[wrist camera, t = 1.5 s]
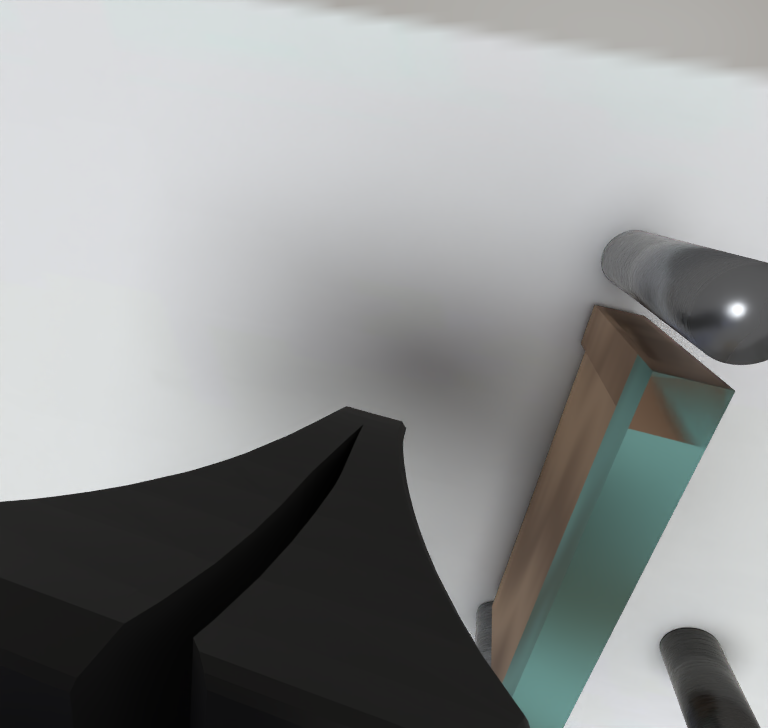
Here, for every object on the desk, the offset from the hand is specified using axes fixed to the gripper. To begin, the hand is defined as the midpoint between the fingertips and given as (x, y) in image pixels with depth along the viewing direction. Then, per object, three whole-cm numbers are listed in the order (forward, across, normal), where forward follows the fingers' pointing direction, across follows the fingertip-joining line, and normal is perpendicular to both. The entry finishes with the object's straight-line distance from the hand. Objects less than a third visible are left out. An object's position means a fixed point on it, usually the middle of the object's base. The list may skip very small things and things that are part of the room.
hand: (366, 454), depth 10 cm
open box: (+6, -5, +3) cm, 9 cm away
